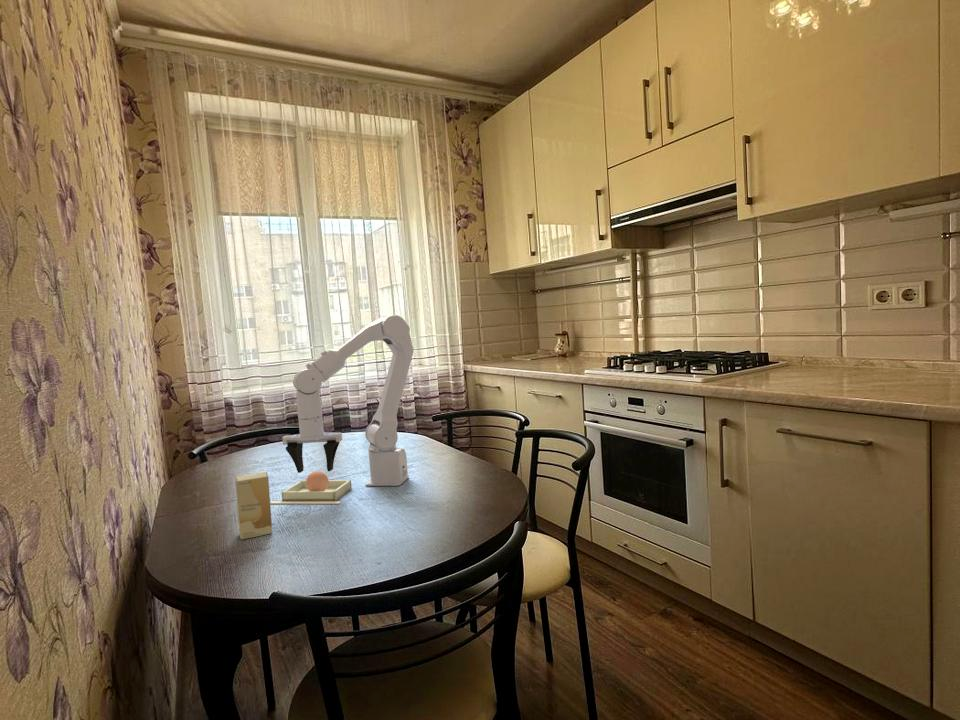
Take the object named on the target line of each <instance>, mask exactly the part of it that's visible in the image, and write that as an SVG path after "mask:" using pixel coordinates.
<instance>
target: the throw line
mask: <svg viewBox="0 0 960 720" xmlns="http://www.w3.org/2000/svg"><path fill="white" fill-rule="evenodd" d="M340 504H341V501H338V500H336V501H282V500H281V501H278V500H277V501H276V500H275V501H270V505H340Z"/></svg>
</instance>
